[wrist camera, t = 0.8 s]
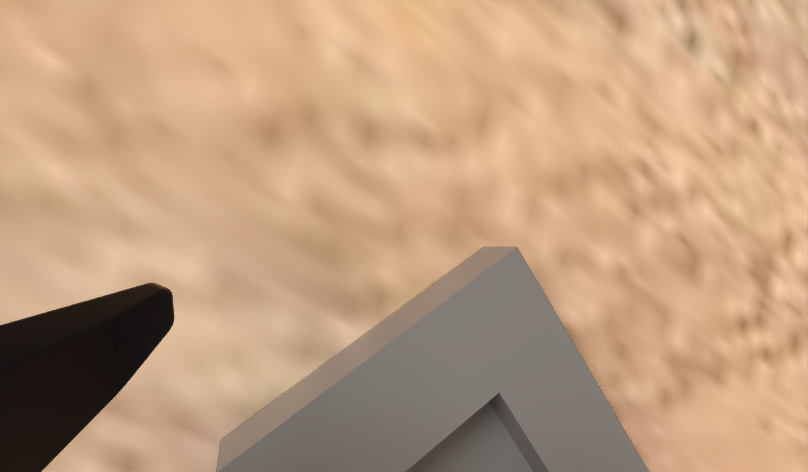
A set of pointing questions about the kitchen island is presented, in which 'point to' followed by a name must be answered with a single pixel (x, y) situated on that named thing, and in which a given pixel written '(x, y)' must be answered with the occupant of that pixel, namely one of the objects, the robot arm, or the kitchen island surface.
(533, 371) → the pocket plate
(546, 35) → the kitchen island surface
